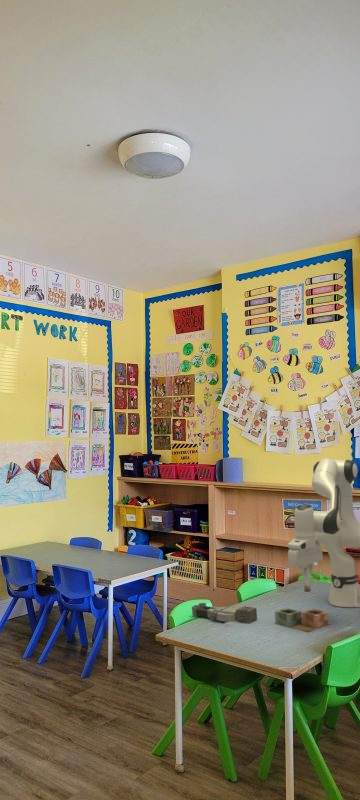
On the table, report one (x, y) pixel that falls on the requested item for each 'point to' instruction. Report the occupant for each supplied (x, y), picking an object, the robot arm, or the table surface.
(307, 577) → the metal pin
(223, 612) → the toy figure
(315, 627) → the dock board
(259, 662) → the table surface
